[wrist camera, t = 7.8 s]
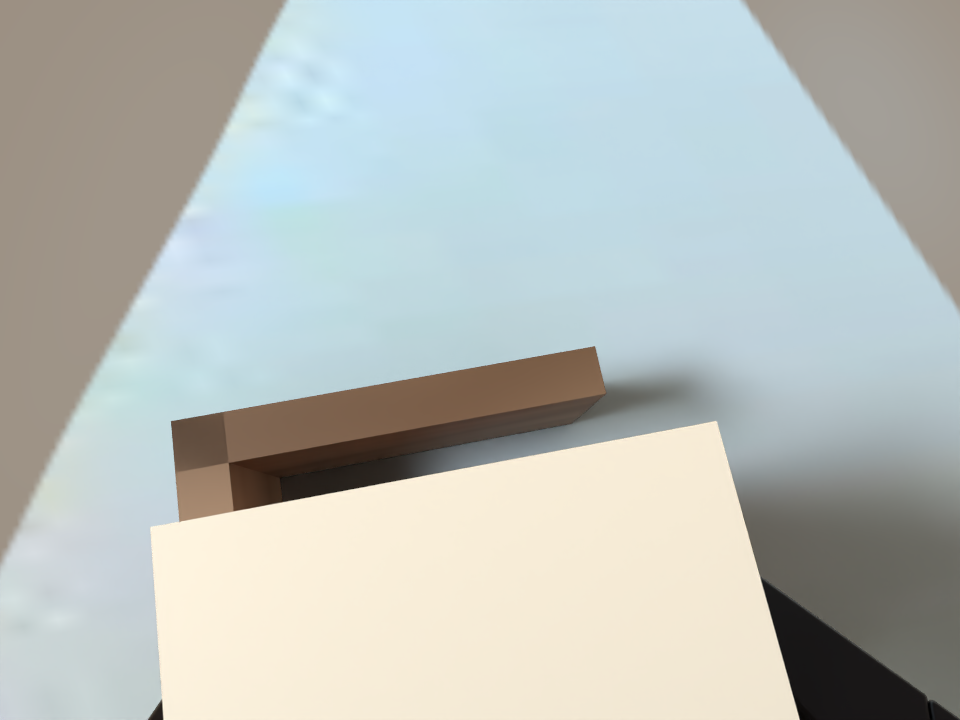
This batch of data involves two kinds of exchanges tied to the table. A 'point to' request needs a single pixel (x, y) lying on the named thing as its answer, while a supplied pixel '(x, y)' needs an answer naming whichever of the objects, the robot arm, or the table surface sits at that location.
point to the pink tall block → (480, 596)
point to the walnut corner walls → (372, 426)
